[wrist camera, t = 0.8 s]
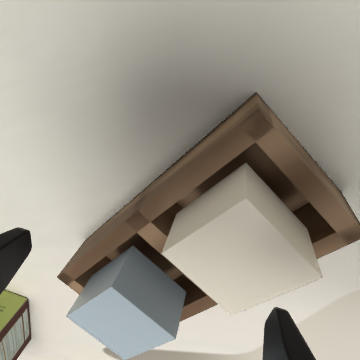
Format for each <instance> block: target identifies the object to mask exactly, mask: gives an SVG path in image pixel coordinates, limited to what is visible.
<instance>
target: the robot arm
mask: <svg viewBox="0 0 360 360" xmlns="http://www.w3.org/2000/svg"><path fill="white" fill-rule="evenodd" d="M31 248H32V243H31V235H30V231H29V230H26V229H23V228H15V229H12V230H9V231H7V232H4V233H2V234H0V295H1V293H2V292H3V291H4V290H5V288H6V287H7V285H8V284H9V283H10V281H11V280H12V278H13V277H14V275H15V274H16V272H17V271H18V269H19V268H20V266H21V265H22V263H23V262H24V260H25V259H26V258H27V256H28V255H29V253H30V251H31ZM263 360H316V359H315V357H314V356H313V354H312V352H311V350H310V349H309V347H308V345H307V343H306V342H305V340H304V338H303V337H302V335H301V333H300V332H299V330H298V328H297V326H296V324H295V323H294V321H293V319H292V318H291V316H290V314H289V312H288V311H286V310H284V309H281V308H278V307H275V308H274V309H273V310H272V312H271V313H270V315H269V317H268V318H267V320H266V322H265V327H264V344H263Z"/></svg>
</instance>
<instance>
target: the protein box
mask: <svg viewBox="0 0 360 360" xmlns="http://www.w3.org/2000/svg"><path fill="white" fill-rule="evenodd" d="M30 340H31V332H30V321H29V309H28V299H27V298H24V297H22V296H19V295H16V294H14V293H11V292H8V291H5V290H4V291H3V292H2V293H1V295H0V360H17V358H18V357H19V355H20V354H21V353H22V351H23V350H24V348H25V347H26V345H27V344H28V342H29V341H30Z"/></svg>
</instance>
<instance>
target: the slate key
mask: <svg viewBox="0 0 360 360" xmlns="http://www.w3.org/2000/svg"><path fill="white" fill-rule="evenodd" d="M185 296H186V291H185V290H184V289H182V288H181V287H180V286H179V285H178V284H177V283H176V282H174V281H173V280H172V279H171V278H170V277H169V276H168V275H166V274H165V273H164V272H163V271H162V270H161V269H160V268H158V267H157V266H156V265H155V264H154V263H153V262H151V261H150V260H149V259H148V258H147V257H146V256H145V255H143V254H142V253H141V252H140V251H139V250H138V249H137V248H135V247H134V246H132V247H130V248H129V249H127V250H126V251H125V252H123V253H122V254H121V255H119V256H118V257H117V258H115V259H114V260H112V261H111V262H110V263H108V264H107V265H106V266H104V267H103V268H102V269H100V270H99V271H97V272H96V273H95V274H93V275H92V276H91V278H90V279H89V281H88V282H87V284H86V286H85V287H84V289H83V290H82V292H81V293H80V295H79V297H78V298H77V300H76V301H75V303H74V305H73V306H72V308H71V309H70V311H69V312H68V314H67V316H66V317H68V318H69V319H70V320H72V321H73V322H74V323H76V324H77V325H78V326H80V327H81V328H82V329H84V330H85V331H86V332H88V333H89V334H90V335H92V336H93V337H94V338H96V339H97V340H98V341H100V342H101V343H102V344H104V345H105V346H106V347H108V348H109V349H110V350H112V351H113V352H114V353H116V354H117V355H118V356H120V357H121V358H122V359H124V360H126V359H129V358H131V357H134V356H136V355H138V354H140V353H143V352H146V351H148V350H150V349H153V348H155V347H157V346H160V345H162V344H165V343H167V342H169V341H172V340H174V339H176V335H177V331H178V326H179V322H180V318H181V313H182V309H183V305H184V300H185Z"/></svg>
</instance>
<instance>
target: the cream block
mask: <svg viewBox="0 0 360 360" xmlns="http://www.w3.org/2000/svg"><path fill="white" fill-rule="evenodd" d="M161 254H162V255H163V256H165V257H166V258H167V259H168V260H169V261H170V262H171V263H172V264H174V265H175V266H176V267H177V268H178V269H179V270H180V271H181V272H183V273H184V274H185V275H186V276H187V277H188V278H189V279H191V280H192V281H193V282H194V283H195V284H196V285H197V286H198V287H200V288H201V289H202V290H203V291H204V292H205V293H206V294H207V295H209V296H210V297H211V298H212V299H213V300H214V301H215V302H216V303H218V304H219V305H220V306H221V307H222V308H223V309H224V310H225V311H227V312H228V313H229V314H230V315H234V314H236V313H239V312H241V311H243V310H246V309H248V308H250V307H253V306H255V305H258V304H260V303H262V302H265V301H267V300H270V299H272V298H274V297H277V296H279V295H281V294H284V293H286V292H289V291H291V290H293V289H296V288H298V287H301V286H303V285H305V284H308V283H310V282H312V281H315V280H317V279H320V278H322V274H321V271H320V268H319V265H318V262H317V258H316V255H315V252H314V249H313V246H312V242H311V239H310V236H309V233H308V230H307V228H306V227H305V226H304V225H303V224H302V222H301V221H300V220H299V219H298V218H297V217H296V216H295V215H294V214H293V213H292V212H291V211H290V209H289V208H288V207H287V206H286V205H285V204H284V203H283V202H282V201H281V200H280V199H279V198H278V196H277V195H276V194H275V193H274V192H273V191H272V190H271V189H270V188H269V187H268V186H267V185H266V184H265V182H264V181H263V180H262V179H261V178H260V177H259V176H258V175H257V174H256V173H255V172H254V171H253V169H252V168H251V167H250V166H249V165H248V164H247V163H245V164H243V165H242V166H240V167H239V168H238V169H236V170H235V171H234V172H232V173H231V174H230V175H228V176H227V177H225V178H224V179H223V180H221V181H220V182H219V183H217V184H216V185H215V186H213V187H212V188H211V189H209V190H208V191H206V192H205V193H204V194H202V195H201V196H200V197H198V198H197V199H196V200H194V201H193V202H191V203H190V204H189V205H187V206H186V207H185V208H183V209H182V210H181V211H179V212H178V213H177V214H176V217H175V219H174V222H173V224H172V227H171V230H170V232H169V235H168V238H167V240H166V243H165V245H164V248H163V251H162V253H161Z"/></svg>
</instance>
